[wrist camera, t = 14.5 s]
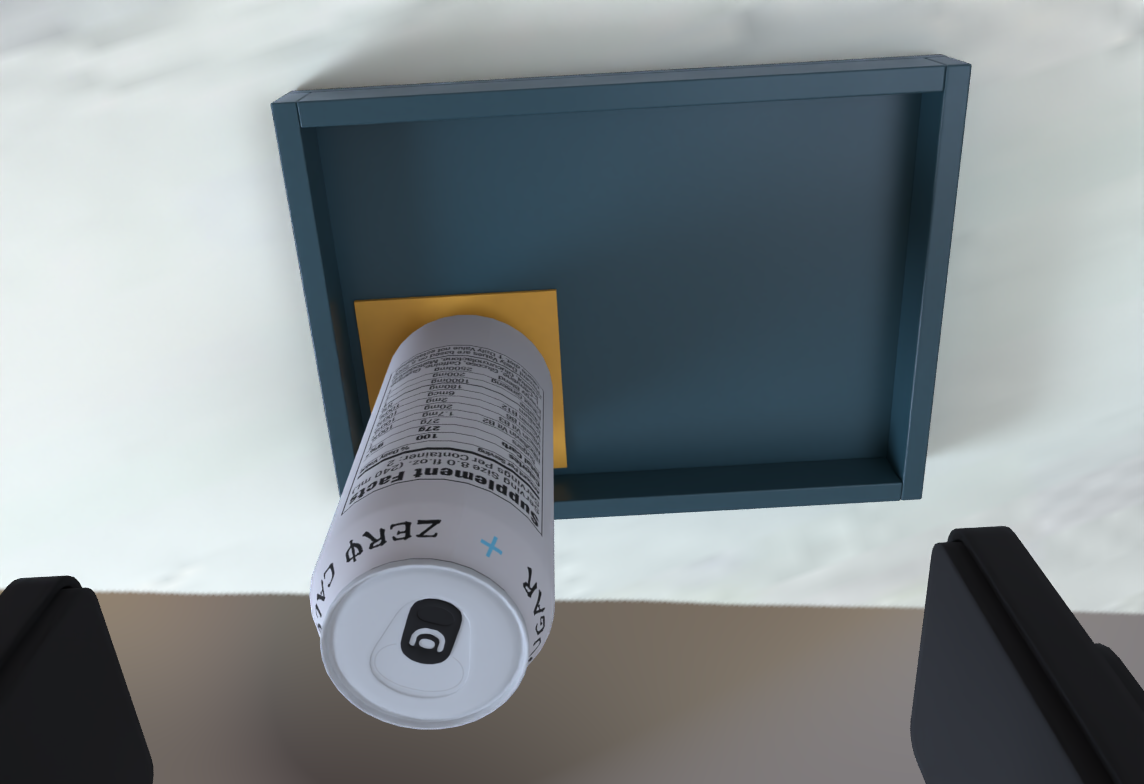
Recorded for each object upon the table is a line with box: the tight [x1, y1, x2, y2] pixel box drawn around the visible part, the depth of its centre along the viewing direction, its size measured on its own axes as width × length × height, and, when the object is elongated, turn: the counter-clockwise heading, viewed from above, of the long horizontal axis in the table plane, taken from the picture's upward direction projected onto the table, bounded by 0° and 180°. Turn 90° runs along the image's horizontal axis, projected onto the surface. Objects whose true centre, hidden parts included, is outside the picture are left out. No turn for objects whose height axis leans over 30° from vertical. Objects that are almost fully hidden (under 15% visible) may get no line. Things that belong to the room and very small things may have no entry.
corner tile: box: [354, 289, 567, 468], centre depth 37 cm, size 7×7×1 cm
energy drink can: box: [310, 315, 555, 729], centre depth 30 cm, size 6×6×15 cm
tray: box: [271, 54, 971, 520], centre depth 35 cm, size 22×16×3 cm
